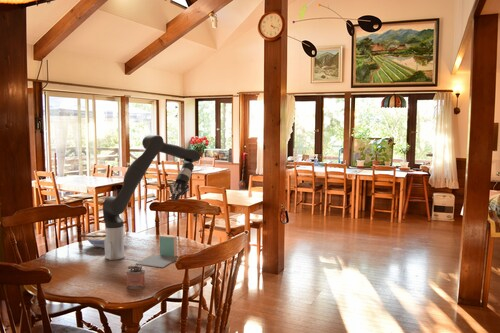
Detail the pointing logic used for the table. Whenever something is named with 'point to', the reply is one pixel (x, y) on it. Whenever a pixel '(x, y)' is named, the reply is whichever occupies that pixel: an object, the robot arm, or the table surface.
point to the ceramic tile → (168, 245)
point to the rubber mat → (157, 261)
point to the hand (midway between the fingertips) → (174, 200)
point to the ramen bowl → (97, 238)
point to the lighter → (135, 277)
